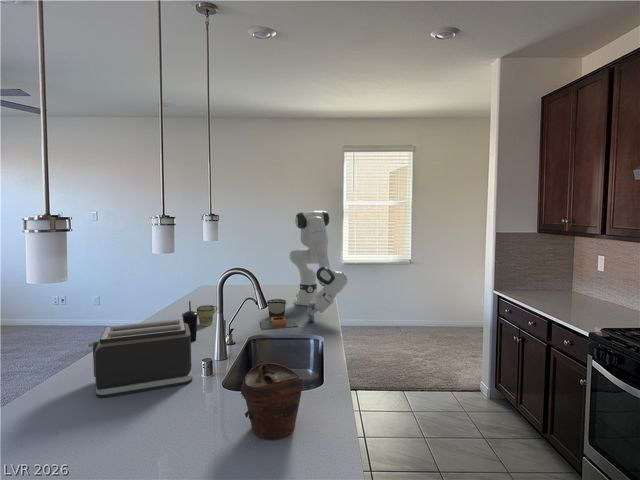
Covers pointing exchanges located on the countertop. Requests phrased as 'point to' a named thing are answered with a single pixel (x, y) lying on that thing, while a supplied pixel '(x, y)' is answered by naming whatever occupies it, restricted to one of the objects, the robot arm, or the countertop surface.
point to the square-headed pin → (310, 308)
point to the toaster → (142, 357)
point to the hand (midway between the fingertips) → (309, 313)
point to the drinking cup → (191, 322)
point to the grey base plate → (278, 323)
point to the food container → (276, 307)
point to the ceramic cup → (206, 314)
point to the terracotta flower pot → (272, 399)
